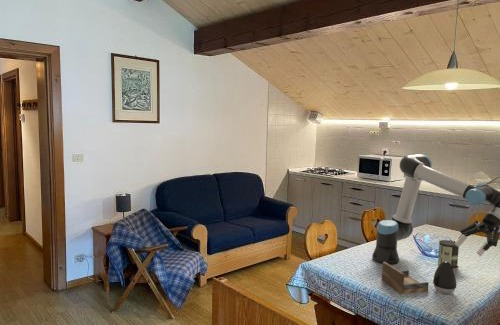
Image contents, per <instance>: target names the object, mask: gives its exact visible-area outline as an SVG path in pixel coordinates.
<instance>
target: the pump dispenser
mask: <svg viewBox="0 0 500 325" xmlns="http://www.w3.org/2000/svg"><path fill="white" fill-rule="evenodd" d="M455 268H457V269H459V265H457V266H452V265H451V264H450V263H449V262H442V263H440V265H439V266H438V265H437V268H436V270H435V273H434V274H433V279H432V284H433V287H434V289H435V290H436V292H438V293H441V294H444V295H450V294H453V293H454V292H455V290H456V289H457V276H456V273H455V270H456V269H455Z"/></svg>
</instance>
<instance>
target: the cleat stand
mask: <svg viewBox="0 0 500 325" xmlns="http://www.w3.org/2000/svg"><path fill="white" fill-rule="evenodd" d="M381 271H382V272H381V281H382V282H383V283H385V284H386V285H387V286H388V287H390V288H391V289H392V290H394V291H395V292H397V293H398V294H400V295H406V294H414V293H415V294H416V293H417V294H418V293H427V292H429V282H428V281H421V282H420V281H418V280H416V279H415V278H414V277H412V276H410V270H408V269H405V270H399V269H397V268H396V267H394V266H393V265H389V264H388V263H386V262H383V264H382V268H381Z"/></svg>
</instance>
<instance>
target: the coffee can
mask: <svg viewBox="0 0 500 325" xmlns="http://www.w3.org/2000/svg"><path fill="white" fill-rule="evenodd" d="M455 243H456V241H453V240H447V239H446V240H445V239H444V240H443V239H441V240H439V241H438V256H437V257H438V258H437V267H438V266H439V265H440V263H442V262H449V263H450V264H451V265H452V266H458V263H459V262H458V260H459V251H460V250H459V248H460V247H457V246H456V244H455ZM457 269H458V268H455V269H454V270H457Z"/></svg>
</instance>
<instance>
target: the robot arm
mask: <svg viewBox="0 0 500 325" xmlns="http://www.w3.org/2000/svg"><path fill="white" fill-rule="evenodd" d="M432 166H433V164H432V161H431V159H430V158H429V157H428V156H427V155H425V154H419V153H417V154H409V155H405V156H404V157H402V159H400V161H399V169H400V171H401V172H402V173H403V174H404V177H405V180H404V183H403V187H402V191H401V195H400V198H399V202H398V205H397V209H396V212H395V214H393V215H392V216H391V219H386V220H385V219H384V220H380V221H379V222H377V226H376V240H375V242H376V243H375V248H374V250H373V252H372V257H371V258H372V260H373V262H375V263H377V264H381V265H383V262H386V263H388V264H389V265H391V266H393V265H399V263H400V257H399V256H400V255H399V253H398V242H399V241H402V240H405V239H408V238H409V237H410V236H412V234H413V232H414V231H413V230H414V226H413V225H412V224H413V220H412V214H413V211H414V209H415V208H414V207H415V204H416V201H417V198H418V194H419V190H420V186H421V183H422V182H423V181H424V182H426V183H428V184H431V185H432V186H435V187H437V188H440V189H442V190H444V191H446V192H449V193H452V194H453V195H456V196H458V197H461V198H463V199H465V200H466V201H467V202H468V203H469V204H471V205H481V204H483V203H486V202H487V203H488V204H491V205H492V206H493V207H492V208H491V209H490V210H489V211H488V213H487V214H485V215H484V217H483V218H482V221H481V222H479V221H478V220H475V221H474V222H473V223H471V224H470V225H469V224H468V226H466V227H464V228H463V229H461V230H460V231H459V232H460V233H461V234H460V236H459V237H458V239H457V240H456V241H455V242H456V243H455V244H456V246H457V247H459V248H460V246H462V244H464V242H465V241H466V240H467V237H469V236H472V235H474V234H477V233H479V234H480V233H482V234H485V235H486V241H485V242H484V243H483V244H482V245H481V246H480V247H479V249H478V250H477V251H476V254H477V255H478V256H479V257H482V256H483V255H484V253H485V252H486V251H488V250H489V249H490V248H491V247H497V246H498V241H499V238H500V191H499V190H497V189H496V188H494V187H492V186H490V185H489V184H486V183H483V182H478V183H477V184H476V185H475V186H474V185H472V184H470V183H467V182H465V181H462V180H460V179H459V178H455V177H453V176H450V175H449V174H445V173H443V172H441V171H439V170H436V169H435V168H434V169H433V168H432Z"/></svg>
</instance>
